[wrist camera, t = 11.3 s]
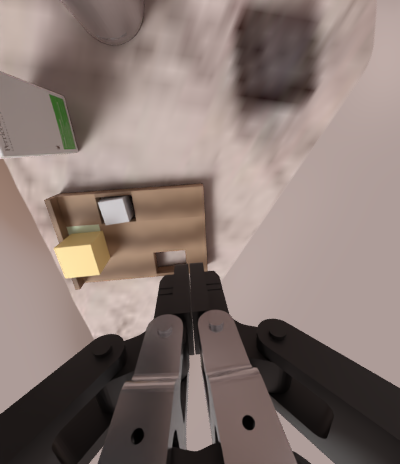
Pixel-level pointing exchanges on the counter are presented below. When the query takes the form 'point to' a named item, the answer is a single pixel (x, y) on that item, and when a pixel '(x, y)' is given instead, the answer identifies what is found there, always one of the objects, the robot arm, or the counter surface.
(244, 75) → the counter surface
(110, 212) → the grey block
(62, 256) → the mustard block
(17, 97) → the skincare box
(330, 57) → the counter surface
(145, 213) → the box
